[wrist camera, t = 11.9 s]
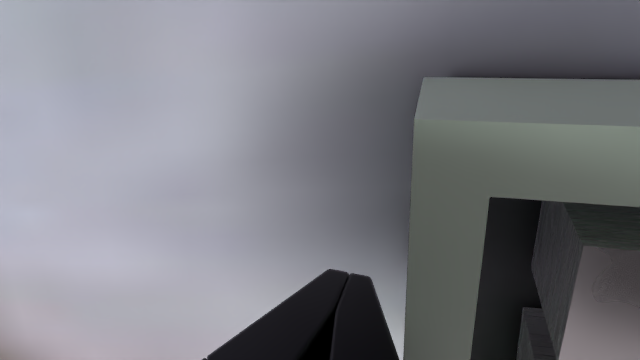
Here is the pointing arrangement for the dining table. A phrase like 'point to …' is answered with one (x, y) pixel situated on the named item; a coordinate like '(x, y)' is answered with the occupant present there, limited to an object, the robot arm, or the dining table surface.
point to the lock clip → (502, 181)
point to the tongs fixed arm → (589, 279)
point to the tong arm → (534, 337)
